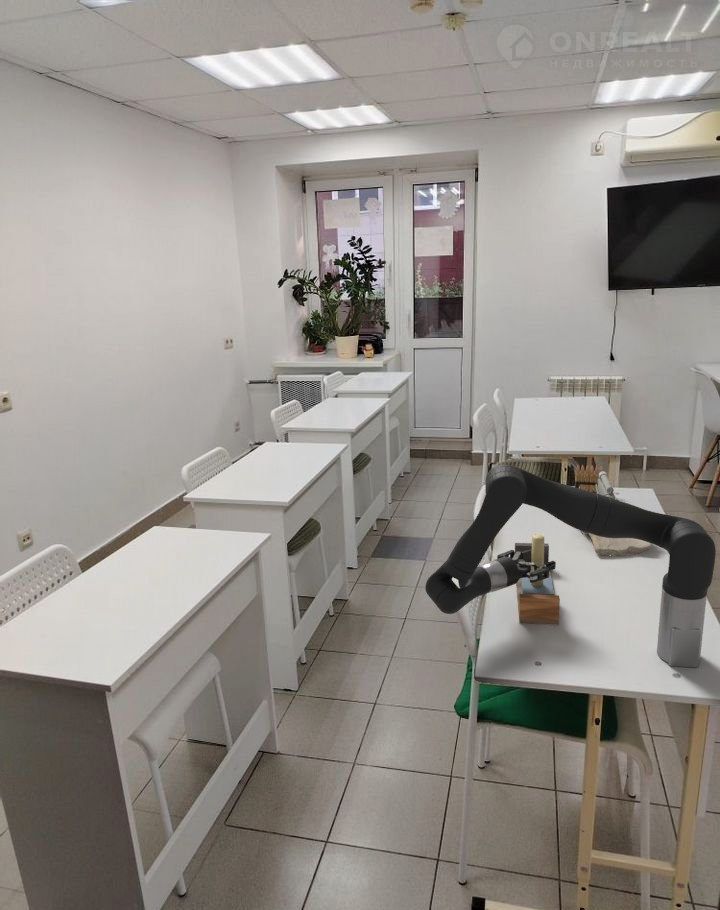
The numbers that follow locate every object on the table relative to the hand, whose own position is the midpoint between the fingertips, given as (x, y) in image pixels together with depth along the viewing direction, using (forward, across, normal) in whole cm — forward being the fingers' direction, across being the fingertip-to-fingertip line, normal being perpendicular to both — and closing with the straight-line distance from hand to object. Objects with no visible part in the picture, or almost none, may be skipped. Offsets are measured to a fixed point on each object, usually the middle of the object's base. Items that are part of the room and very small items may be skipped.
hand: (542, 558), depth 174 cm
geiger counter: (+65, +36, +14) cm, 75 cm away
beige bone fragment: (+49, +17, +15) cm, 54 cm away
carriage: (-2, 0, +11) cm, 11 cm away
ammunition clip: (+76, +52, +14) cm, 93 cm away
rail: (+3, +6, +14) cm, 16 cm away
